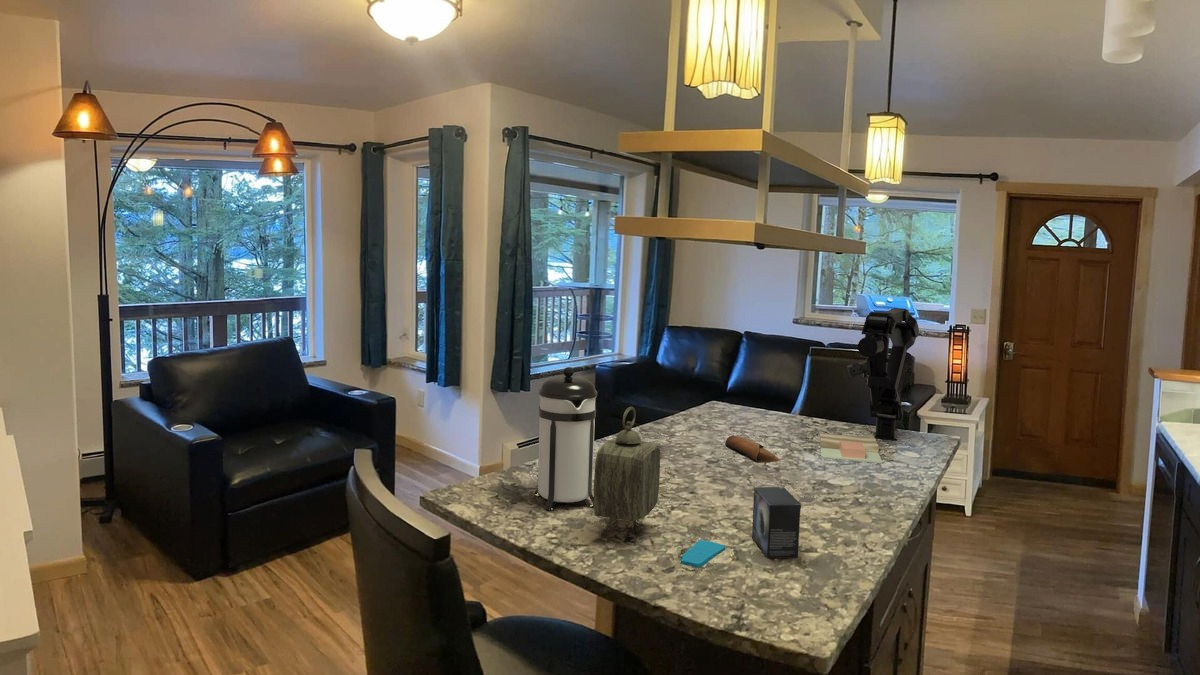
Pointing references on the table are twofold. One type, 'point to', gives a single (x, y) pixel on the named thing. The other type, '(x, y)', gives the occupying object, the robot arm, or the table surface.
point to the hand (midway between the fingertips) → (874, 405)
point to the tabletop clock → (626, 477)
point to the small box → (776, 522)
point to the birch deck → (834, 441)
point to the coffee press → (566, 439)
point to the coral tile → (852, 449)
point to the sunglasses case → (751, 449)
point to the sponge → (701, 553)
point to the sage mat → (837, 455)
